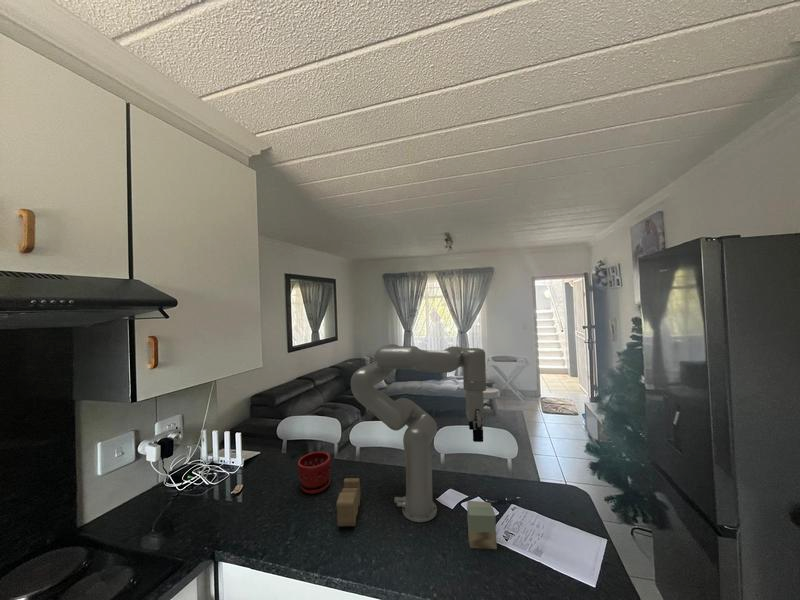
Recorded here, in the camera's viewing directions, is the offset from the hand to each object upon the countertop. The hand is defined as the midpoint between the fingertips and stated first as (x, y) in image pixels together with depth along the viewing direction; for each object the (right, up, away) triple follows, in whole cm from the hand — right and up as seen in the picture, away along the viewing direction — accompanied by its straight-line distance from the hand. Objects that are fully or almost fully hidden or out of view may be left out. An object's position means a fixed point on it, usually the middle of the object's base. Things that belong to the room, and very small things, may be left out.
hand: (475, 435), depth 105 cm
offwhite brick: (+2, -31, +2) cm, 31 cm away
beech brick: (0, -30, -8) cm, 31 cm away
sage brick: (0, -25, -8) cm, 27 cm away
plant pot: (-61, -32, +23) cm, 73 cm away
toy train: (-44, -32, +6) cm, 54 cm away
